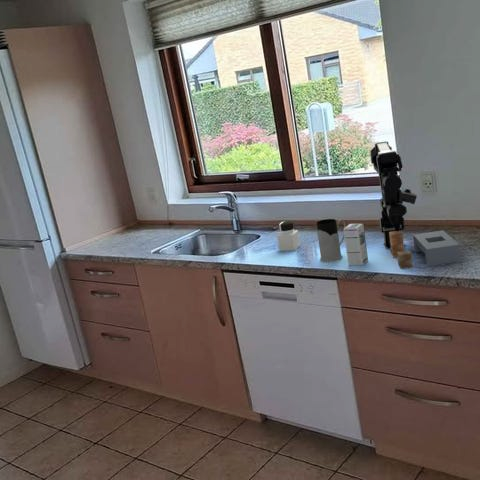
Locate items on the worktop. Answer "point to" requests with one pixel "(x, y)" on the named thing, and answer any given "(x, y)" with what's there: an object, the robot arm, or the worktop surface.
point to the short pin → (404, 259)
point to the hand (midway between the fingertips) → (395, 228)
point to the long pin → (396, 242)
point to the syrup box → (355, 244)
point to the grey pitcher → (329, 240)
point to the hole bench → (437, 247)
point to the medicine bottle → (288, 237)
